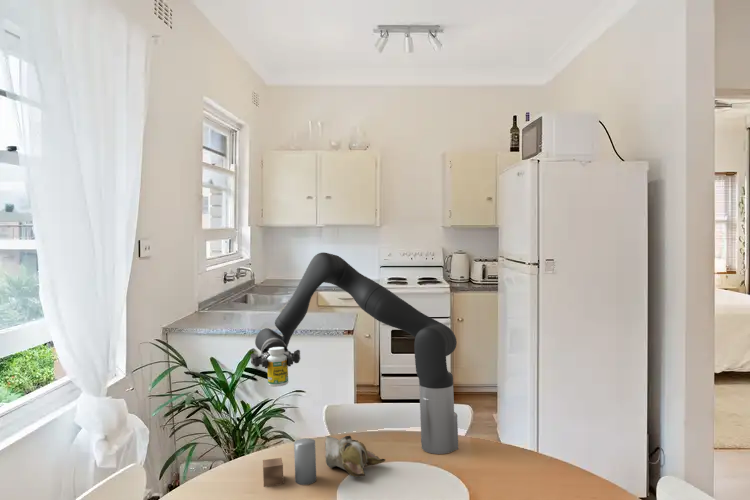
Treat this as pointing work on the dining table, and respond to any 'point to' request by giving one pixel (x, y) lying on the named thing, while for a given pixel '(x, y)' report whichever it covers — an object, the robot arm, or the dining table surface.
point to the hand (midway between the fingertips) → (278, 363)
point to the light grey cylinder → (305, 461)
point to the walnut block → (273, 472)
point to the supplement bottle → (277, 367)
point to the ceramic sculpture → (349, 455)
